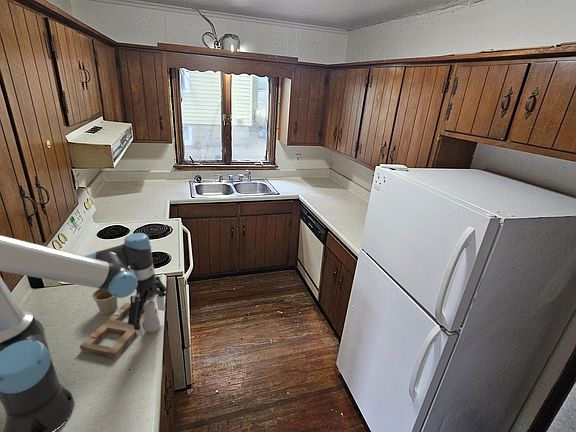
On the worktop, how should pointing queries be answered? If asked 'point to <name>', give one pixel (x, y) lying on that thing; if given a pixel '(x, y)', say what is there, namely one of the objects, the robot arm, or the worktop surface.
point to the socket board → (115, 327)
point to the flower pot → (105, 301)
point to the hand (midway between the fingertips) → (151, 321)
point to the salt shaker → (150, 317)
